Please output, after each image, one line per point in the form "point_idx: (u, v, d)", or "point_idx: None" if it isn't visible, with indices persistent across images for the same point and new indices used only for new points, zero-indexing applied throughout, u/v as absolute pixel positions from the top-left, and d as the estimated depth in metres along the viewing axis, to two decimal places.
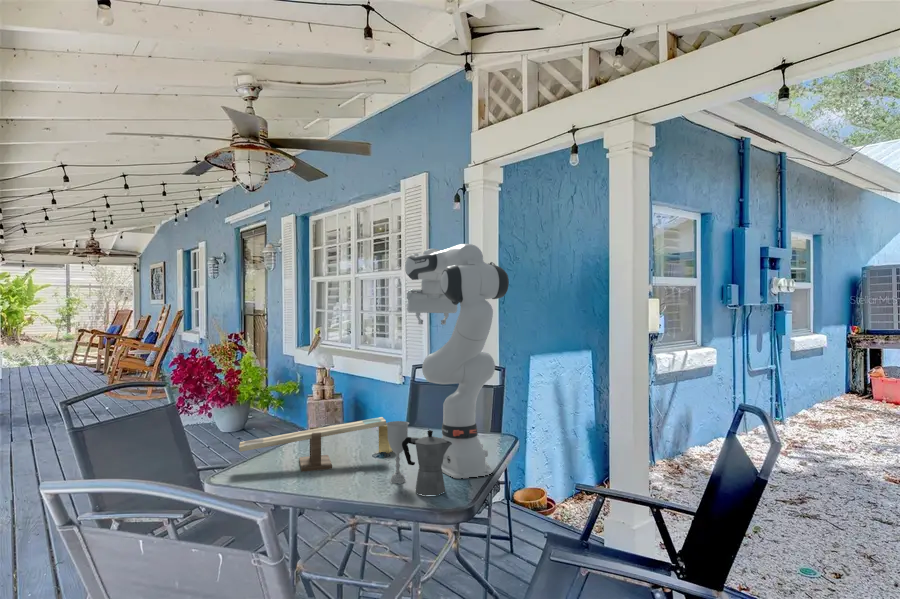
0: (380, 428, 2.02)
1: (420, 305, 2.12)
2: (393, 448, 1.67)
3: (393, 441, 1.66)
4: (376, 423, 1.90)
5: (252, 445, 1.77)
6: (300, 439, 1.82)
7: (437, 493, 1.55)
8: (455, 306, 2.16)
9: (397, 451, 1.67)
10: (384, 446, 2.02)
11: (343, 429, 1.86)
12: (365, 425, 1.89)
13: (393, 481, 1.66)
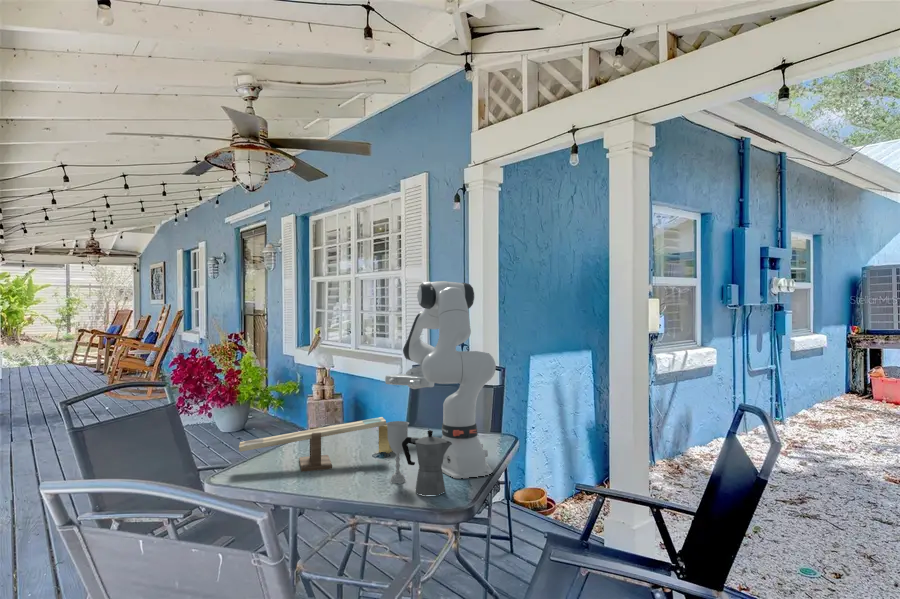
0: (380, 428, 2.02)
1: (397, 375, 2.24)
2: (393, 448, 1.67)
3: (393, 441, 1.66)
4: (376, 423, 1.90)
5: (252, 445, 1.77)
6: (300, 439, 1.82)
7: (437, 493, 1.55)
8: None
9: (397, 451, 1.67)
10: (384, 446, 2.02)
11: (343, 429, 1.86)
12: (365, 425, 1.89)
13: (393, 481, 1.66)
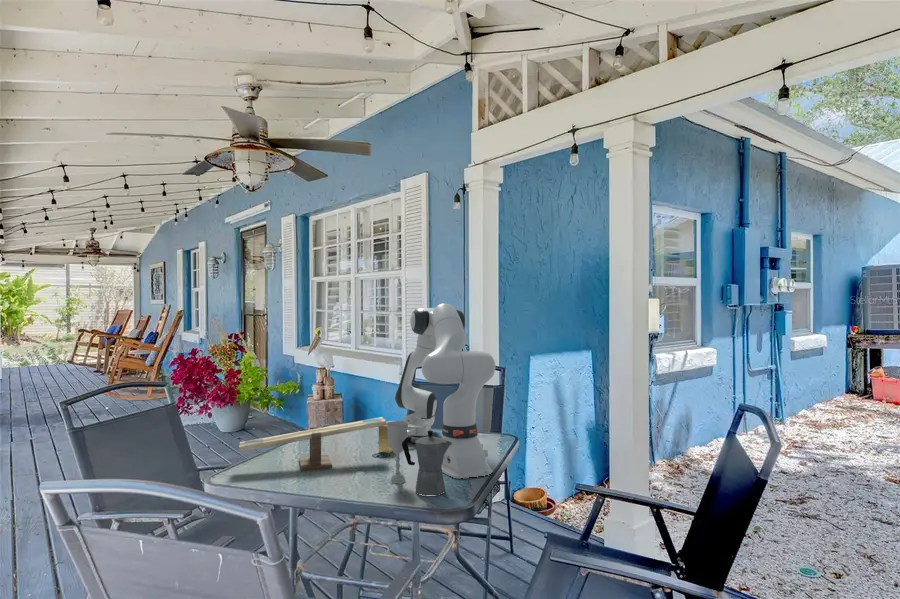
0: (380, 428, 2.02)
1: None
2: (393, 448, 1.67)
3: (393, 441, 1.66)
4: (376, 423, 1.90)
5: (252, 445, 1.77)
6: (300, 439, 1.82)
7: (437, 493, 1.55)
8: (425, 425, 2.14)
9: (396, 451, 1.67)
10: (384, 446, 2.02)
11: (343, 429, 1.86)
12: (365, 425, 1.89)
13: (393, 481, 1.66)
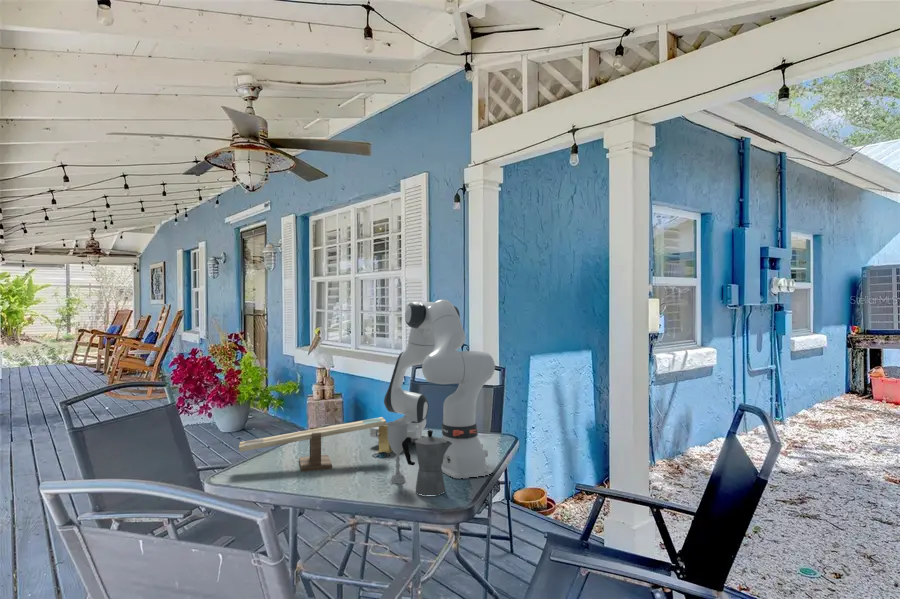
0: (380, 428, 2.02)
1: None
2: (393, 448, 1.67)
3: (393, 441, 1.66)
4: (376, 423, 1.90)
5: (252, 445, 1.77)
6: (300, 439, 1.82)
7: (437, 493, 1.55)
8: (415, 429, 2.06)
9: (396, 451, 1.67)
10: (384, 446, 2.02)
11: (343, 429, 1.86)
12: (365, 425, 1.89)
13: (393, 481, 1.66)
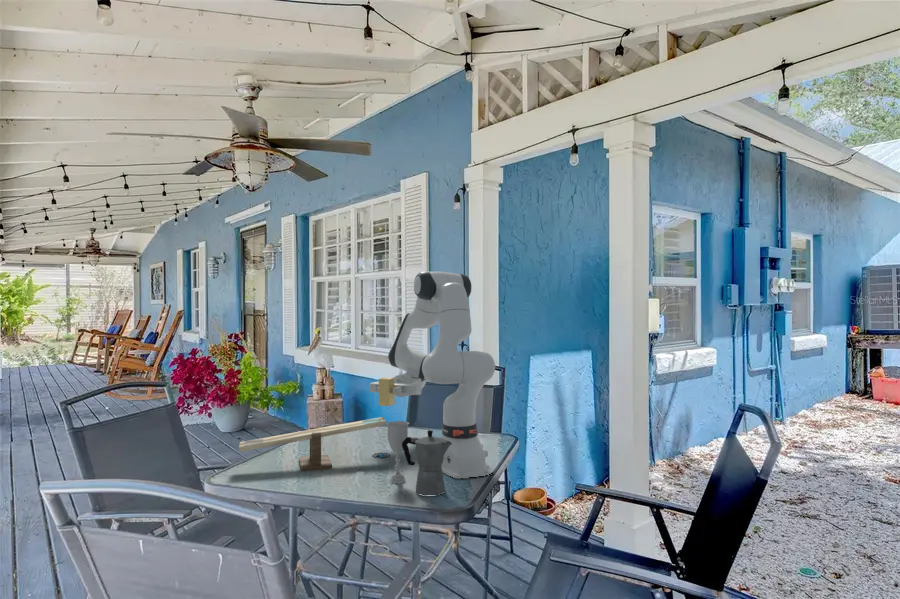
0: (380, 381, 2.02)
1: None
2: (393, 448, 1.67)
3: (393, 441, 1.66)
4: (376, 423, 1.90)
5: (252, 445, 1.77)
6: (300, 439, 1.82)
7: (437, 493, 1.55)
8: (415, 383, 2.07)
9: (397, 451, 1.67)
10: (384, 400, 2.02)
11: (343, 429, 1.86)
12: (365, 425, 1.89)
13: (393, 481, 1.66)
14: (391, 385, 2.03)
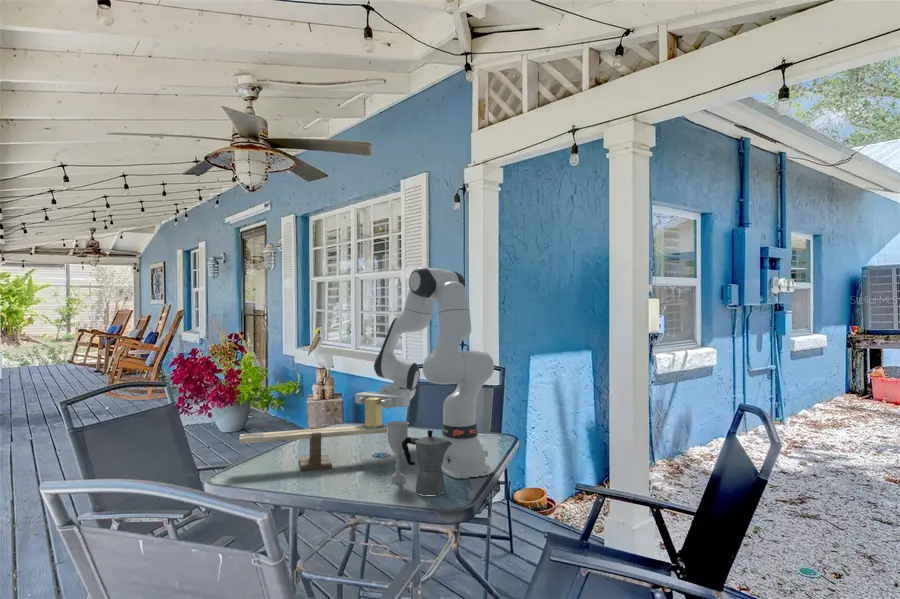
0: (366, 402, 1.92)
1: (368, 393, 2.01)
2: (393, 448, 1.67)
3: (393, 441, 1.66)
4: (376, 429, 1.90)
5: (252, 438, 1.77)
6: (300, 437, 1.82)
7: (437, 493, 1.55)
8: (403, 394, 1.96)
9: (397, 451, 1.67)
10: (371, 421, 1.91)
11: (344, 432, 1.86)
12: (366, 430, 1.89)
13: (393, 481, 1.66)
14: (379, 405, 1.93)
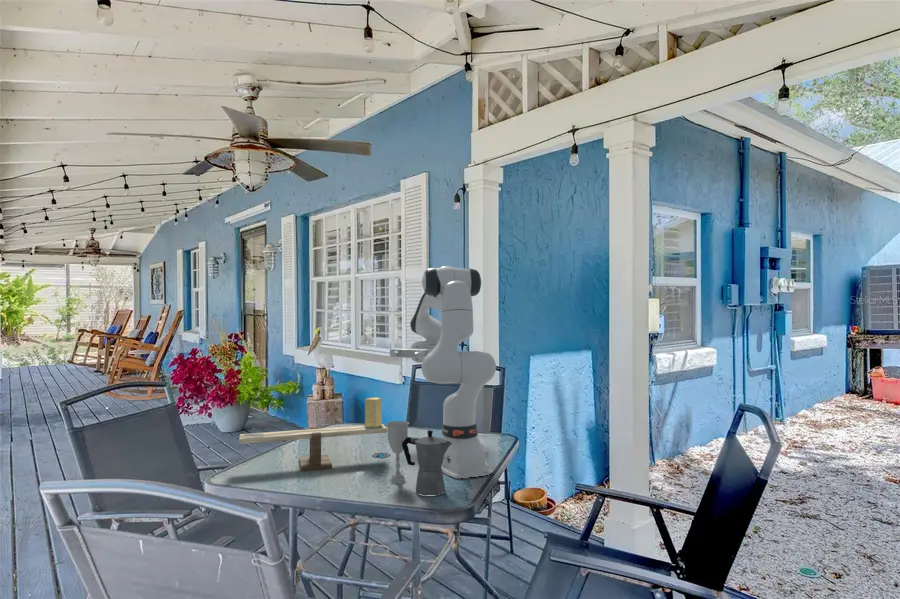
0: (366, 402, 1.92)
1: (402, 348, 2.22)
2: (393, 448, 1.67)
3: (393, 441, 1.66)
4: (376, 429, 1.90)
5: (252, 438, 1.77)
6: (300, 437, 1.82)
7: (437, 493, 1.55)
8: None
9: (397, 451, 1.67)
10: (371, 421, 1.91)
11: (344, 432, 1.86)
12: (366, 430, 1.89)
13: (393, 481, 1.66)
14: (379, 405, 1.93)
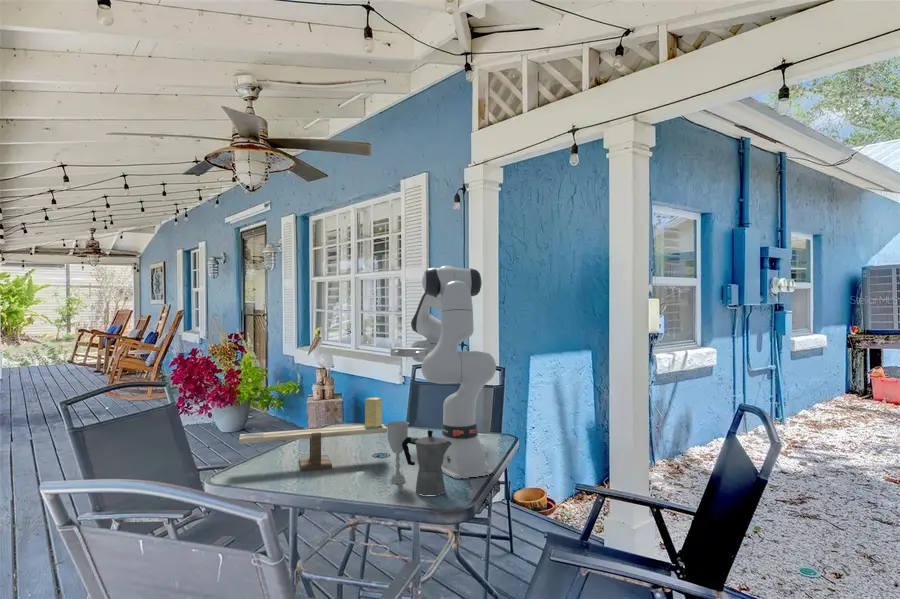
0: (366, 402, 1.92)
1: None
2: (393, 448, 1.67)
3: (393, 441, 1.66)
4: (376, 429, 1.90)
5: (252, 438, 1.77)
6: (300, 437, 1.82)
7: (437, 493, 1.55)
8: (434, 347, 2.17)
9: (397, 451, 1.67)
10: (371, 421, 1.91)
11: (344, 432, 1.86)
12: (366, 430, 1.89)
13: (393, 481, 1.66)
14: (379, 405, 1.93)
